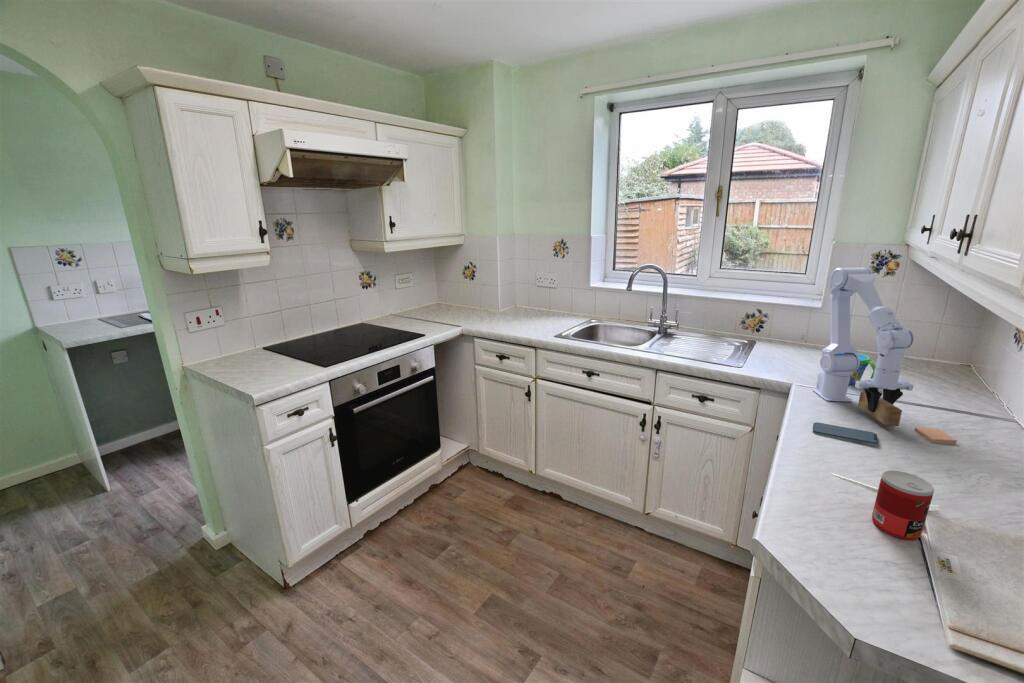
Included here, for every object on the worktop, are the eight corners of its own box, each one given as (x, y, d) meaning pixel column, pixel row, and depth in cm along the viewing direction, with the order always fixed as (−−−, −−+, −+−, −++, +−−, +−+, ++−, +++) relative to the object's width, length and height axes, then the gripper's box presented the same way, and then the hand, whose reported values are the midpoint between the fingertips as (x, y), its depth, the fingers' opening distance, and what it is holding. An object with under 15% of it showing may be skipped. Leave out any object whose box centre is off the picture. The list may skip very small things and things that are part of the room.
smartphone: (813, 421, 137) (876, 432, 129) (812, 426, 137) (875, 437, 129) (812, 431, 131) (878, 443, 123) (811, 436, 131) (877, 449, 123)
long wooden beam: (857, 406, 144) (860, 391, 143) (868, 406, 144) (871, 391, 142) (886, 425, 131) (890, 409, 129) (898, 426, 130) (902, 410, 129)
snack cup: (878, 385, 165) (884, 359, 162) (862, 391, 160) (868, 363, 157) (832, 372, 178) (837, 347, 175) (816, 377, 173) (821, 352, 170)
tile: (914, 427, 132) (931, 439, 125) (938, 428, 130) (956, 440, 124) (913, 432, 132) (930, 444, 125) (937, 433, 131) (955, 445, 124)
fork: (832, 473, 113) (833, 467, 112) (939, 512, 98) (941, 504, 97) (827, 478, 111) (828, 471, 110) (936, 518, 96) (938, 510, 95)
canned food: (914, 547, 87) (928, 498, 84) (864, 524, 94) (876, 478, 91) (925, 530, 92) (939, 483, 89) (878, 510, 98) (889, 465, 95)
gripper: (869, 372, 130) (859, 415, 134) (925, 374, 128) (913, 417, 132) (854, 364, 137) (846, 405, 141) (907, 365, 135) (897, 407, 139)
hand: (877, 411), depth 137 cm, fingers closed on long wooden beam, 3 cm apart
